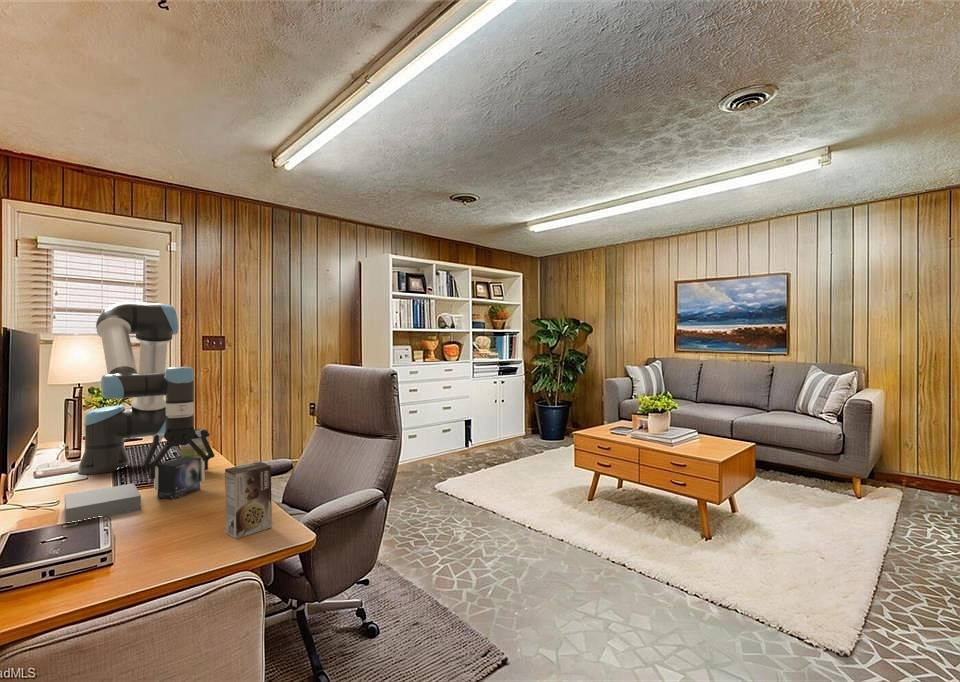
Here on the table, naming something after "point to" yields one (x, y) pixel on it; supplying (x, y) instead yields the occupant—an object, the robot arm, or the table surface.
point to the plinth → (102, 502)
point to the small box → (178, 477)
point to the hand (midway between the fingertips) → (179, 484)
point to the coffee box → (248, 499)
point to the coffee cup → (189, 451)
